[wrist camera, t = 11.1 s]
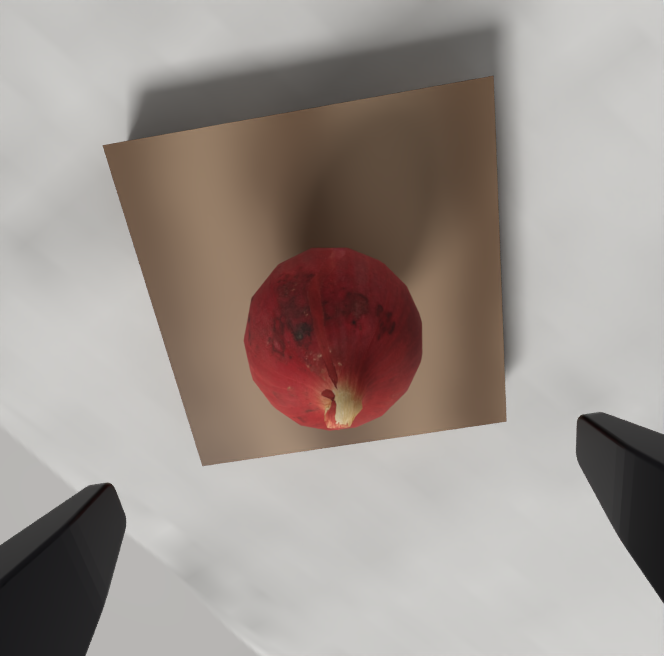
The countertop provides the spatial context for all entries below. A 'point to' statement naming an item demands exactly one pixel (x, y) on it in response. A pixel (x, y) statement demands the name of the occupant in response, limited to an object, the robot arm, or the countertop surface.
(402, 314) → the red round fruit
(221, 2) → the countertop surface
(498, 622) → the countertop surface
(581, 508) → the countertop surface
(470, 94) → the walnut block
